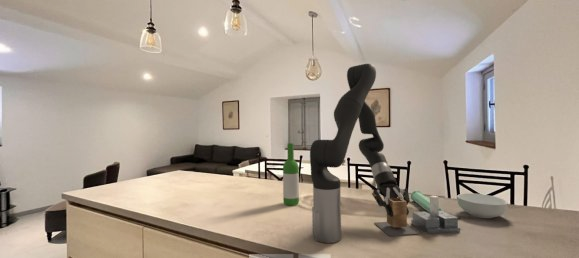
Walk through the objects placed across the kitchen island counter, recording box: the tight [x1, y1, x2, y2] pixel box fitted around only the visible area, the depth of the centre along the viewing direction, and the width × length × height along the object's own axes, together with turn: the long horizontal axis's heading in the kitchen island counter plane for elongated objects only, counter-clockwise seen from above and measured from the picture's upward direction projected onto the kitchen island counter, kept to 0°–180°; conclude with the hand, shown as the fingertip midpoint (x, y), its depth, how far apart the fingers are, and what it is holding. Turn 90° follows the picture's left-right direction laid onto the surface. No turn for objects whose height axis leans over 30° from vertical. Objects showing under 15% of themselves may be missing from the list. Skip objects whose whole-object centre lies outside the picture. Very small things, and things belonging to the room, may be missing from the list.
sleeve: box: [386, 197, 408, 227], centre depth 94 cm, size 5×5×9 cm
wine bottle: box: [282, 142, 300, 206], centre depth 127 cm, size 8×8×30 cm
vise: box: [410, 195, 462, 235], centre depth 95 cm, size 16×10×12 cm, turn 96°
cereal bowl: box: [456, 192, 509, 219], centre depth 107 cm, size 17×17×7 cm
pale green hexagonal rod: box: [410, 190, 444, 214], centre depth 116 cm, size 6×6×25 cm
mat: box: [374, 221, 423, 237], centre depth 94 cm, size 12×12×1 cm
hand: (399, 215), depth 92 cm, fingers closed on sleeve, 5 cm apart
